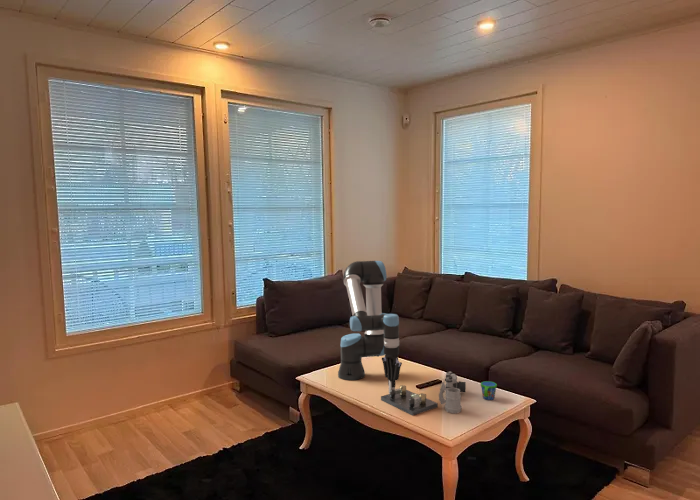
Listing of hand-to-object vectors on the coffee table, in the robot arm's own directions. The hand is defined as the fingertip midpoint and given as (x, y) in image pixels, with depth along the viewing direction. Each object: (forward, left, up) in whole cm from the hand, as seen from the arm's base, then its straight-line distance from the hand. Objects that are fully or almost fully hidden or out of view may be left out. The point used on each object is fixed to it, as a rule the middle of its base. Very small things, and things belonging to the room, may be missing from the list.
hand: (391, 393), depth 246 cm
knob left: (+2, +6, -2) cm, 6 cm away
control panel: (+8, +4, -4) cm, 10 cm away
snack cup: (+27, +40, -4) cm, 48 cm away
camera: (+13, +31, -4) cm, 34 cm away
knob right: (+16, +6, -2) cm, 17 cm away
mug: (+25, +14, -4) cm, 29 cm away
